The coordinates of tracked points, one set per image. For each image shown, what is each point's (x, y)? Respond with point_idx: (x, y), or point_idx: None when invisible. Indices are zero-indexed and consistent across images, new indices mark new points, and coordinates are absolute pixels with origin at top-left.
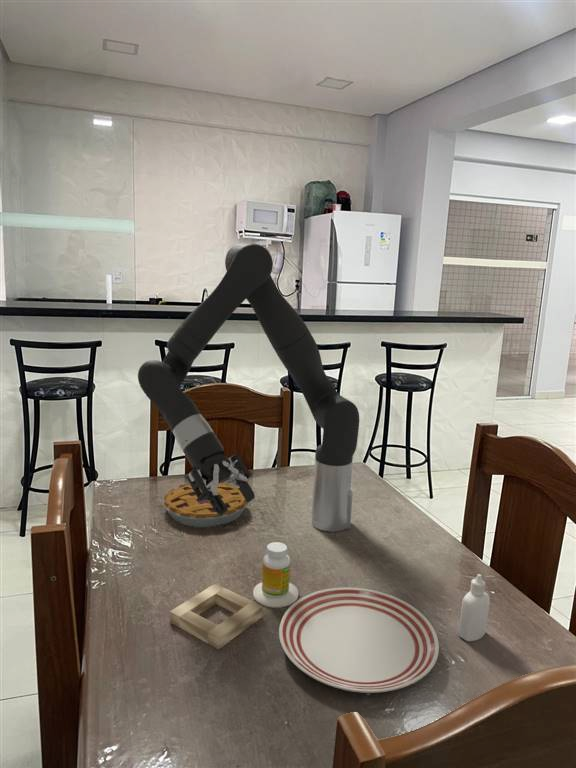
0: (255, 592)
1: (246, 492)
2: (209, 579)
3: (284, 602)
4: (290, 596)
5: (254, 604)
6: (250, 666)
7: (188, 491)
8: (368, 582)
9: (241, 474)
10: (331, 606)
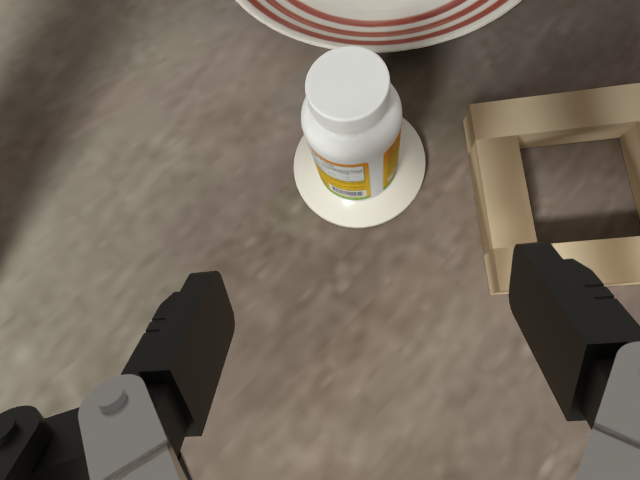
0: (403, 200)
1: (207, 335)
2: (448, 371)
3: None
4: None
5: (481, 125)
6: (622, 11)
7: None
8: (149, 49)
9: (93, 459)
10: (318, 14)
